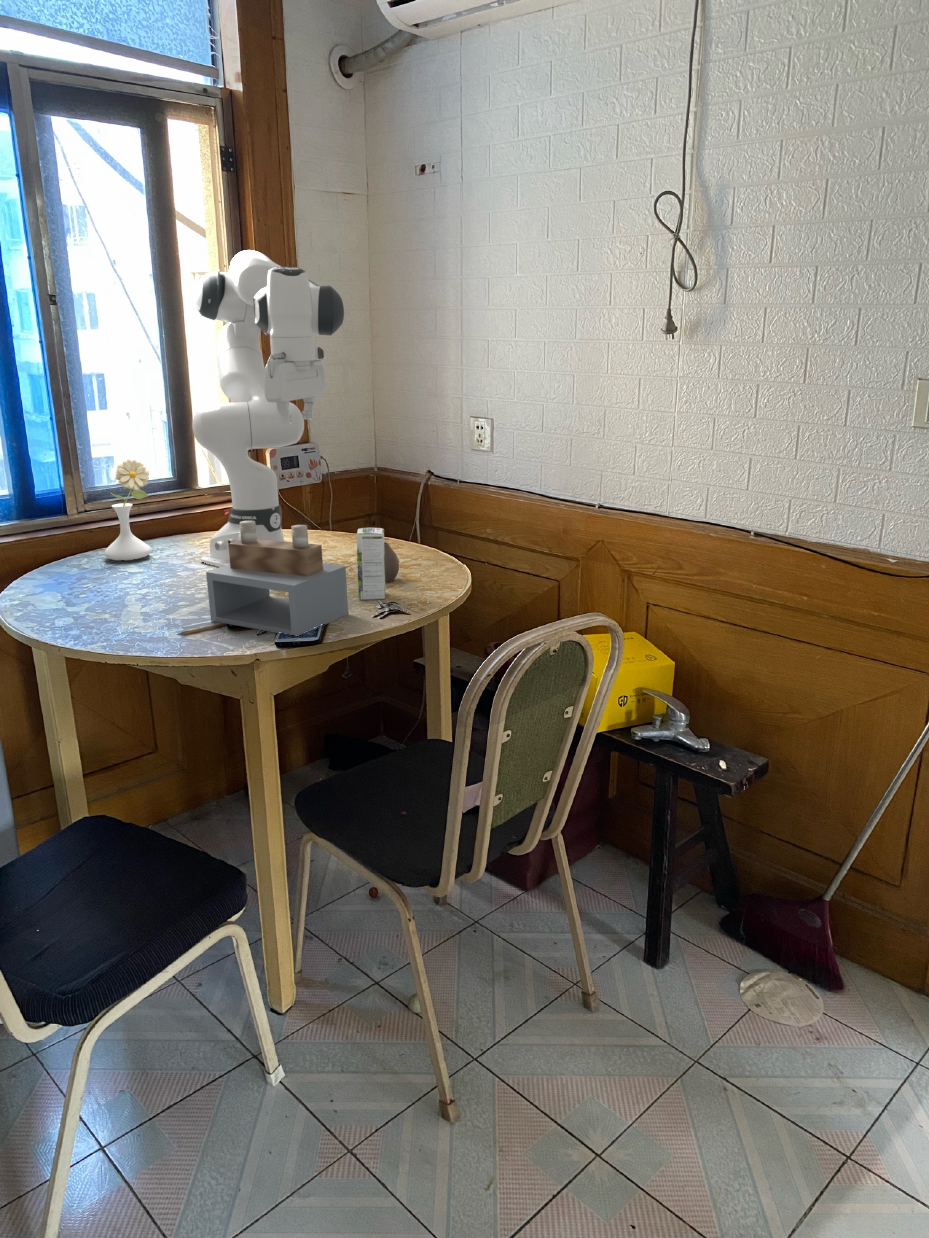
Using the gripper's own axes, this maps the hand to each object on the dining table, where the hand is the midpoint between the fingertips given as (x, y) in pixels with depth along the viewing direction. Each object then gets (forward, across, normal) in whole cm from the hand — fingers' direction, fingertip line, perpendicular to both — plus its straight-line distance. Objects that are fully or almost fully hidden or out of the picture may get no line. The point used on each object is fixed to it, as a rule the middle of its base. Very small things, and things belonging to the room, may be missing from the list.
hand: (297, 421), depth 189 cm
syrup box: (+37, +1, -15) cm, 40 cm away
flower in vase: (+37, +18, +58) cm, 72 cm away
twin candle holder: (+27, -18, -2) cm, 32 cm away
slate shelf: (+37, -18, -2) cm, 41 cm away
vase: (+37, +14, -12) cm, 41 cm away
